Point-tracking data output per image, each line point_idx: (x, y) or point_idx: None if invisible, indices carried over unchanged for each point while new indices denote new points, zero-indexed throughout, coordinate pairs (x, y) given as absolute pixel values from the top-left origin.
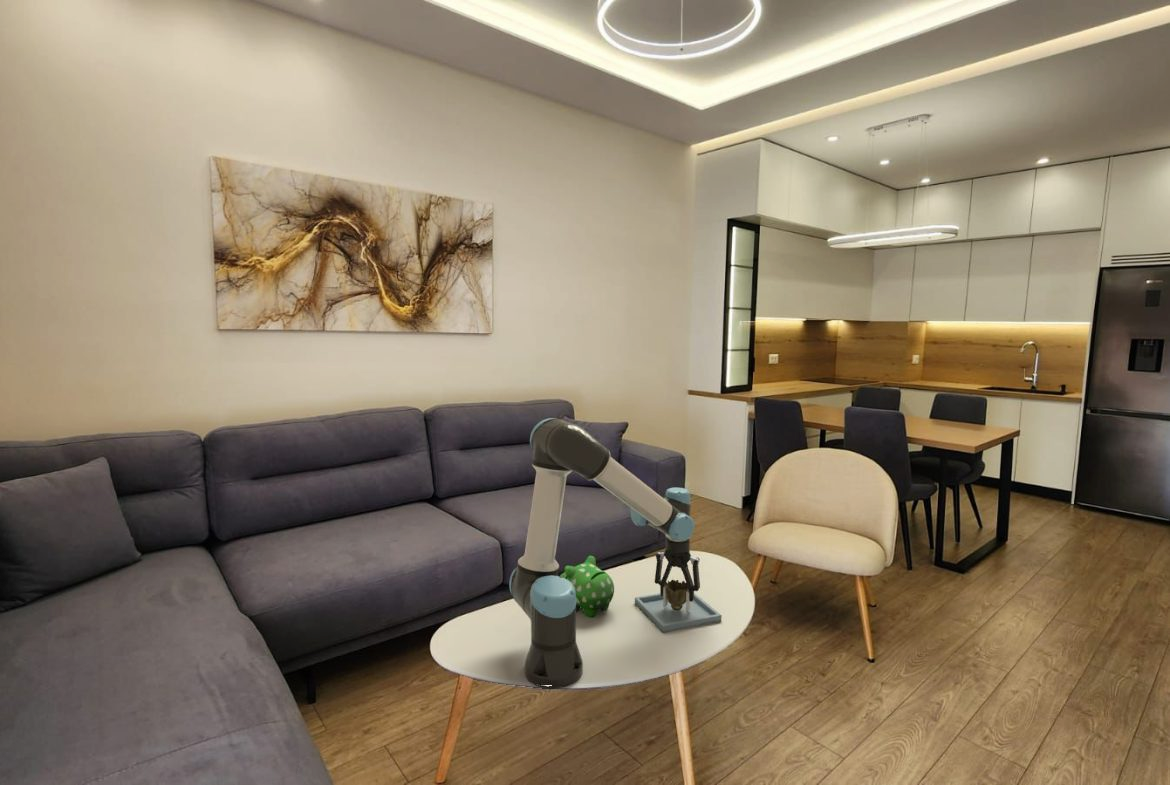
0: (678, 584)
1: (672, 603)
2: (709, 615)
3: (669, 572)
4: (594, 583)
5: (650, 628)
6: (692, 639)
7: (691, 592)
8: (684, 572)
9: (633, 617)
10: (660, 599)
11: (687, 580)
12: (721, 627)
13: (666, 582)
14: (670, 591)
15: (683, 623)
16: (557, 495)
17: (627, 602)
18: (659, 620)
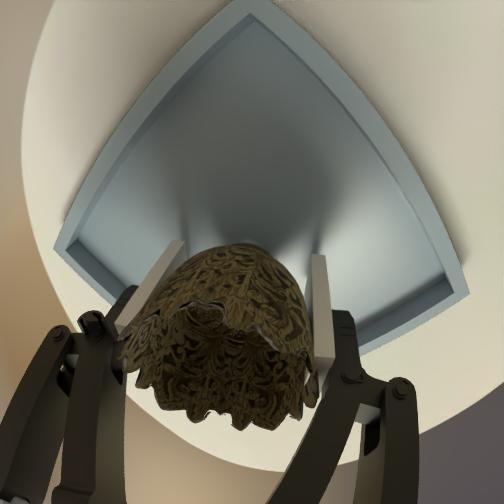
0: (233, 401)
1: (250, 248)
2: (106, 257)
3: (273, 492)
4: None
5: (346, 20)
6: (102, 27)
7: (84, 313)
8: (78, 476)
9: (463, 130)
10: None
11: (81, 404)
12: (51, 191)
13: (310, 405)
14: (246, 306)
15: (145, 91)
16: None
17: (483, 273)
18: (300, 42)
